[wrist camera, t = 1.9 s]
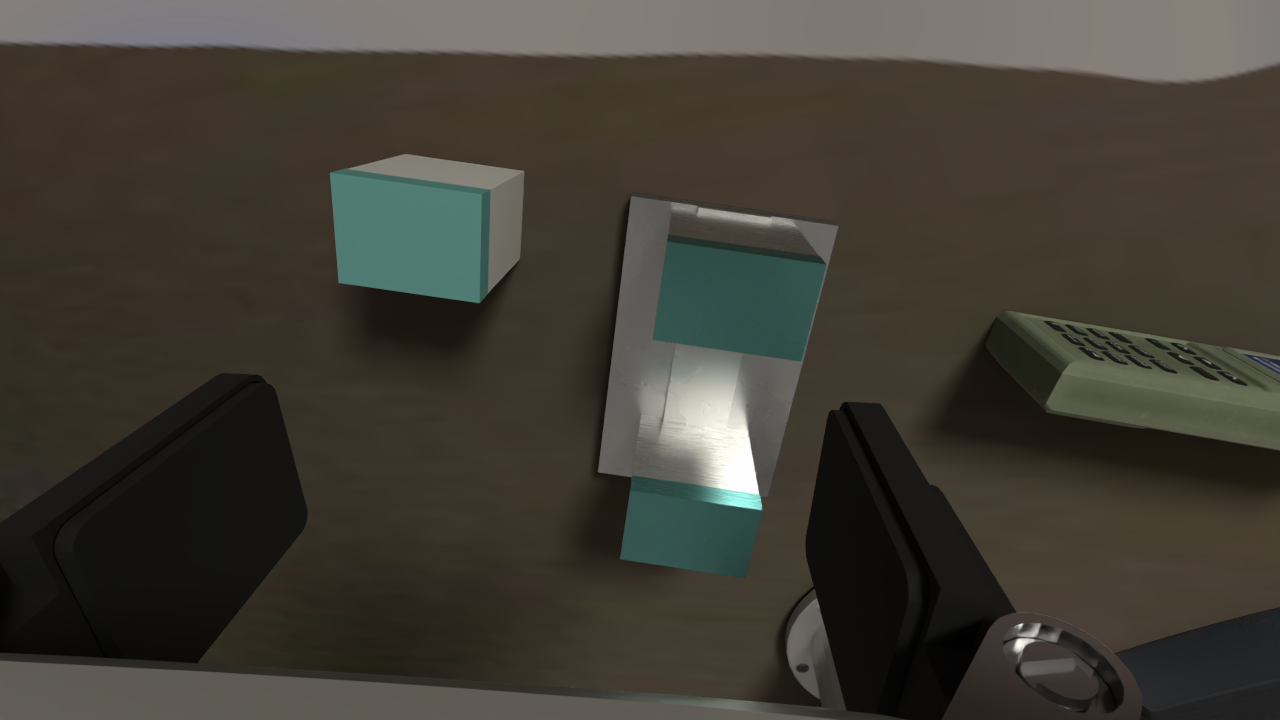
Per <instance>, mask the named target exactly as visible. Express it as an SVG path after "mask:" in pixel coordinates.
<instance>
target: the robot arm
mask: <svg viewBox="0 0 1280 720" xmlns="http://www.w3.org/2000/svg"><path fill="white" fill-rule="evenodd" d="M306 521H307V507H306V503H305V499H304V496H303V492H302V488H301V484H300V480H299V477H298V473H297V469H296V465H295V462H294V458H293V454H292V450H291V447H290V443H289V439H288V435H287V431H286V428H285V424H284V420H283V416H282V413H281V409H280V405H279V401H278V398H277V394H276V391H275V389H274V388H273V386H272V385H270V384H267V383H266V381H265V380H264V379H263V377H261V376H259V375H251V374H229V373H222V374H219V375H217V376H215V377H214V378H212V379H211V380H209V381H208V382H206V383H205V384H204V385H202V386H201V387H199V388H198V389H196V390H195V391H193V392H192V393H190V394H189V395H187V396H186V397H184V398H183V399H182V400H180V401H179V402H177V403H176V404H174V405H173V406H171V407H170V408H168V409H167V410H165V411H164V412H162V413H161V414H160V415H158V416H157V417H155V418H154V419H152V420H151V421H149V422H148V423H146V424H145V425H143V426H142V427H140V428H139V429H138V430H136V431H135V432H133V433H132V434H130V435H129V436H127V437H126V438H124V439H123V440H121V441H120V442H118V443H117V444H116V445H114V446H113V447H111V448H110V449H108V450H107V451H105V452H104V453H102V454H101V455H99V456H98V457H97V458H95V459H94V460H92V461H91V462H89V463H88V464H86V465H85V466H83V467H82V468H80V469H79V470H77V471H76V472H75V473H73V474H72V475H70V476H69V477H67V478H66V479H64V480H63V481H61V482H60V483H58V484H57V485H55V486H54V487H53V488H51V489H50V490H48V491H47V492H45V493H44V494H42V495H41V496H39V497H38V498H36V499H35V500H33V501H32V502H31V503H29V504H28V505H26V506H25V507H23V508H22V509H20V510H19V511H17V512H16V513H14V514H13V515H11V516H10V517H9V518H7V519H6V520H4V521H3V522H1V523H0V720H1149V719H1147V718H1146V717H1144V716H1142V715H1141V712H1142V698H1141V691H1140V689H1139V687H1138V685H1137V683H1136V680H1135V678H1134V676H1133V674H1132V673H1131V672H1130V670H1129V669H1128V668H1127V667H1126V666H1125V665H1124V663H1123V662H1122V661H1121V660H1120V659H1119V657H1118V656H1117V655H1116V654H1114V653H1113V652H1112V651H1111V650H1110V649H1108V648H1107V647H1106V646H1105V645H1104V644H1102V643H1101V642H1100V641H1099V640H1098V639H1096V638H1094V637H1093V636H1091V635H1089V634H1088V633H1086V632H1084V631H1082V630H1081V629H1079V628H1077V627H1076V626H1073V625H1071V624H1068V623H1066V622H1064V621H1061V620H1059V619H1056V618H1054V617H1049V616H1045V615H1040V614H1036V613H1017V612H1016V611H1015V609H1014V608H1013V606H1012V604H1011V603H1010V601H1009V599H1008V598H1007V596H1006V595H1005V593H1004V591H1003V590H1002V588H1001V586H1000V585H999V583H998V582H997V580H996V578H995V577H994V575H993V574H992V572H991V570H990V569H989V567H988V565H987V564H986V562H985V561H984V559H983V557H982V556H981V554H980V552H979V551H978V549H977V548H976V546H975V544H974V543H973V541H972V539H971V538H970V536H969V535H968V533H967V531H966V530H965V528H964V527H963V525H962V523H961V522H960V520H959V518H958V517H957V515H956V514H955V512H954V510H953V509H952V507H951V505H950V504H949V502H948V501H947V499H946V497H945V496H944V494H943V493H942V492H941V491H940V489H939V488H938V487H936V486H933V485H929V483H928V482H927V480H926V478H925V477H924V475H923V473H922V472H921V470H920V468H919V467H918V465H917V463H916V462H915V460H914V458H913V457H912V455H911V453H910V451H909V450H908V448H907V446H906V445H905V443H904V441H903V440H902V438H901V436H900V435H899V433H898V431H897V430H896V428H895V426H894V425H893V423H892V421H891V420H890V418H889V416H888V415H887V413H886V411H885V410H884V408H883V406H882V405H881V404H878V403H859V402H844V403H843V404H842V405H841V407H840V410H831V411H830V412H829V414H828V418H827V424H826V429H825V435H824V440H823V446H822V451H821V457H820V462H819V468H818V473H817V479H816V485H815V490H814V496H813V501H812V507H811V512H810V518H809V523H808V529H807V534H806V557H807V562H808V566H809V569H810V573H811V577H812V581H813V585H814V589H813V590H812V591H811V592H810V593H809V594H808V595H807V596H806V597H804V598H803V599H802V600H801V602H800V603H799V604H798V606H797V607H796V608H795V610H794V611H793V613H792V615H791V617H790V619H789V622H788V624H787V628H786V634H785V645H786V653H787V657H788V662H789V666H790V668H791V670H792V672H793V674H794V676H795V678H796V679H797V680H798V682H799V683H800V684H801V685H802V686H803V687H804V689H806V690H807V691H808V692H810V693H811V694H812V695H813V696H815V697H816V698H818V699H820V701H821V705H822V707H812V706H801V705H790V704H779V703H767V702H755V701H744V700H732V699H721V698H709V697H698V696H685V695H671V694H657V693H642V692H628V691H614V690H600V689H585V688H571V687H557V686H543V685H529V684H514V683H500V682H485V681H470V680H455V679H439V678H424V677H409V676H394V675H378V674H363V673H347V672H331V671H315V670H299V669H284V668H268V667H251V666H234V665H217V664H200V663H198V661H199V660H200V659H201V658H202V656H203V655H204V654H205V653H206V651H207V650H208V649H209V648H210V646H211V645H212V644H213V643H214V641H215V640H216V639H217V638H218V636H219V635H220V634H221V633H222V631H223V630H224V629H225V628H226V626H227V625H228V624H229V623H230V621H231V620H232V619H233V618H234V616H235V615H236V614H237V612H238V611H239V610H240V609H241V607H242V606H243V605H244V604H245V602H246V601H247V600H248V599H249V597H250V596H251V595H252V594H253V592H254V591H255V590H256V589H257V587H258V586H259V585H260V584H261V582H262V581H263V580H264V579H265V577H266V576H267V575H268V574H269V572H270V571H271V570H272V569H273V567H274V566H275V565H276V564H277V562H278V561H279V560H280V559H281V557H282V556H283V555H284V554H285V552H286V551H287V550H288V549H289V547H290V546H291V545H292V544H293V542H294V541H295V540H296V539H297V537H298V536H299V535H300V533H301V532H302V531H303V529H304V527H305V524H306Z"/></svg>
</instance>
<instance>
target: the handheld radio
mask: <svg viewBox="0 0 1280 720" xmlns="http://www.w3.org/2000/svg"><path fill="white" fill-rule="evenodd" d="M986 348H987V350H988V351H989V353H990V354H991V355H992V356H993V357H994V358H995V359H996V361H997V362H998V363H999V364H1000V365H1001V366H1002V367H1003V368H1004V369H1005V370H1006V371H1007V372H1008V373H1009V374H1010V375H1011V377H1012V378H1013V379H1014V380H1015V381H1016V382H1017V383H1018V384H1019V385H1020V386H1021V387H1022V388H1023V389H1024V390H1025V391H1026V392H1027V393H1028V394H1029V395H1030V396H1031V397H1032V398H1033V399H1034V400H1035V401H1036V402H1037V403H1038V404H1039V405H1040V406H1041V407H1042V408H1043V409H1044V410H1045V411H1046V412H1047V413H1051V414H1056V415H1062V416H1068V417H1074V418H1080V419H1085V420H1091V421H1097V422H1103V423H1108V424H1114V425H1120V426H1126V427H1131V428H1141V429H1145V428H1151V429H1157V430H1163V431H1168V432H1174V433H1180V434H1186V435H1192V436H1197V437H1203V438H1209V439H1215V440H1220V441H1226V442H1232V443H1238V444H1243V445H1249V446H1255V447H1261V448H1267V449H1272V450H1278V451H1280V356H1275V355H1270V354H1264V353H1258V352H1252V351H1247V350H1241V349H1235V348H1231V347H1219V346H1213V345H1208V344H1202V343H1197V342H1191V341H1185V340H1179V339H1173V338H1167V337H1161V336H1155V335H1149V334H1143V333H1137V332H1131V331H1125V330H1120V329H1114V328H1108V327H1102V326H1096V325H1090V324H1084V323H1078V322H1072V321H1066V320H1060V319H1054V318H1048V317H1043V316H1037V315H1031V314H1025V313H1019V312H1013V311H1004V312H1002V313H1001V314H1000V315H998V316H997V318H996V320H995V322H994V325H993V327H992V330H991V332H990V335H989V337H988V340H987V342H986Z"/></svg>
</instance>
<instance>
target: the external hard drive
mask: <svg viewBox="0 0 1280 720" xmlns="http://www.w3.org/2000/svg"><path fill="white" fill-rule="evenodd" d="M1115 654H1116V655H1117V656H1118V657H1119V659H1120V660H1121V661H1122V662H1123V663H1124V665H1125V666H1126V667H1127V668H1128V669H1129V670H1130V672H1131V673H1132V674H1133V676H1134V678H1135V680H1136V683H1137V685H1138V687H1139V689H1140V691H1141V698H1142V712H1141V715H1142V716H1144V717H1146V718H1147V719H1149V720H1280V607H1279V608H1276V609H1271V610H1267V611H1263V612H1259V613H1255V614H1250V615H1247V616H1243V617H1240V618H1235V619H1232V620H1228V621H1224V622H1220V623H1216V624H1212V625H1208V626H1205V627H1201V628H1198V629H1194V630H1191V631H1187V632H1183V633H1179V634H1176V635H1173V636H1170V637H1166V638H1163V639H1159V640H1156V641H1152V642H1149V643H1146V644H1143V645H1140V646H1137V647H1134V648H1130V649H1127V650H1124V651H1121V652H1118V653H1115Z"/></svg>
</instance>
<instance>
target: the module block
mask: <svg viewBox="0 0 1280 720" xmlns="http://www.w3.org/2000/svg"><path fill="white" fill-rule="evenodd" d="M330 178H331V190H332V203H333V216H334V229H335V241H336V254H337V267H338V279H339V283H344V284H350V285H357V286H364V287H371V288H378V289H385V290H392V291H399V292H406V293H413V294H420V295H426V296H433V297H440V298H447V299H454V300H461V301H468V302H475V303H480V302H481V301H482V300H483V299H484V298H485V297H486V296H487V295H488V293H489V292H490V290H491V289H492V288H493V287H494V286H495V285H496V284H497V283H498V282H499V281H500V280H501V279H502V278H503V277H504V276H505V274H506V273H507V272H508V271H509V270H510V269H511V268H512V267H513V266H514V265H515V264H516V263H517V262H518V261H519V260H520V249H521V228H522V207H523V187H524V171H519V170H512V169H505V168H498V167H491V166H484V165H477V164H470V163H463V162H456V161H449V160H442V159H435V158H428V157H421V156H414V155H407V154H404V155H400V156H396V157H392V158H388V159H384V160H381V161H377V162H373V163H369V164H365V165H361V166H357V167H353V168H350V169H343V170H339V171H335V172H331V173H330Z"/></svg>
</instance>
